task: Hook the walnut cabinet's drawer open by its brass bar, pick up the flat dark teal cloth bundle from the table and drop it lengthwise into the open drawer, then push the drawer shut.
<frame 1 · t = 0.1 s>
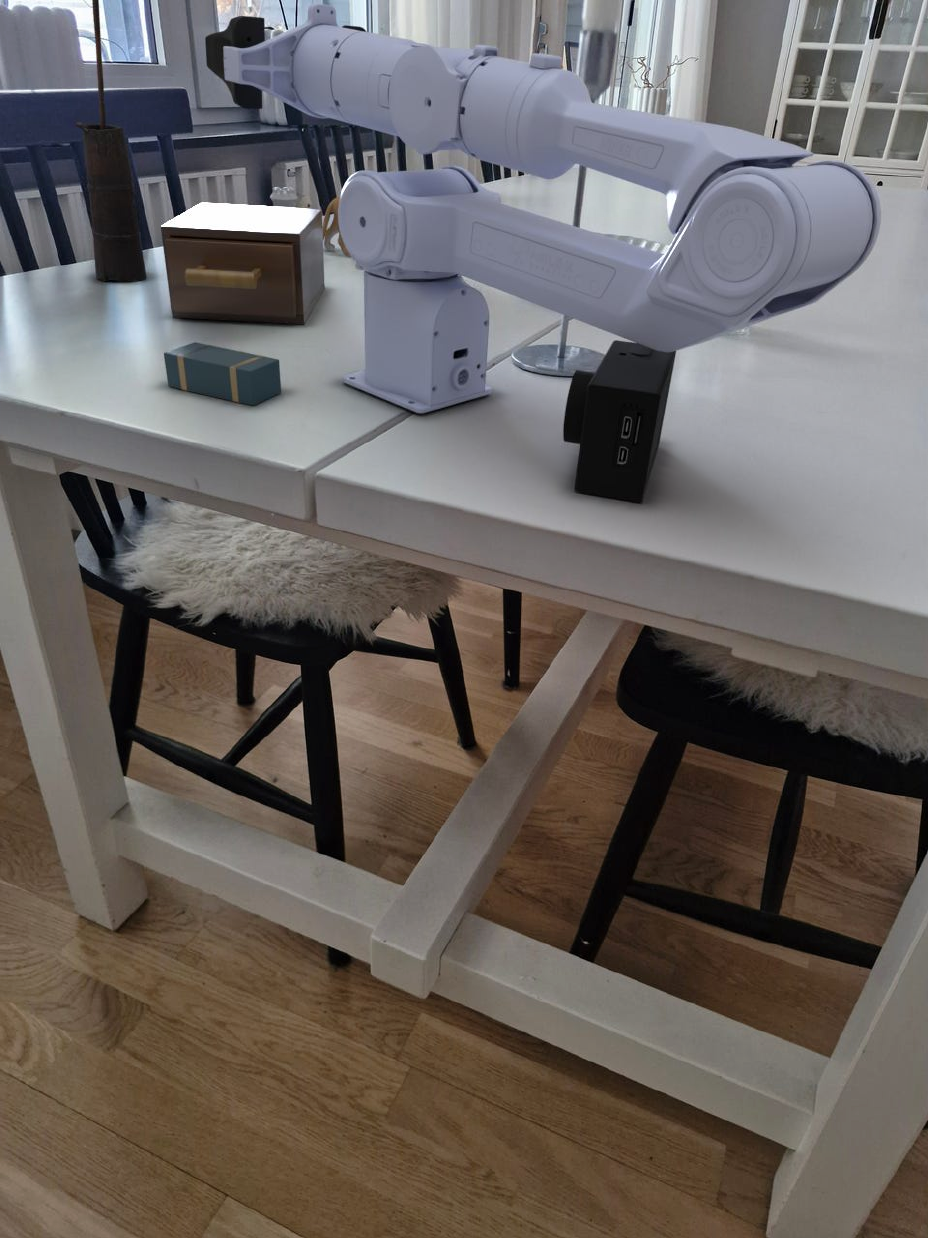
hand: (252, 54, 68), 22 cm above the table, tool horizontal, fingers open, 7 cm apart
butter churn: (115, 281, 95), on the table
digital camera: (609, 468, 58), on the table
cabinet: (253, 302, 89), on the table
lion figurine: (372, 254, 114), on the table
drawer: (242, 268, 84), point 4 cm above the table, slide at 0.0 cm, touching cabinet
rook chess piece: (287, 261, 107), on the table
bundle: (224, 389, 67), on the table
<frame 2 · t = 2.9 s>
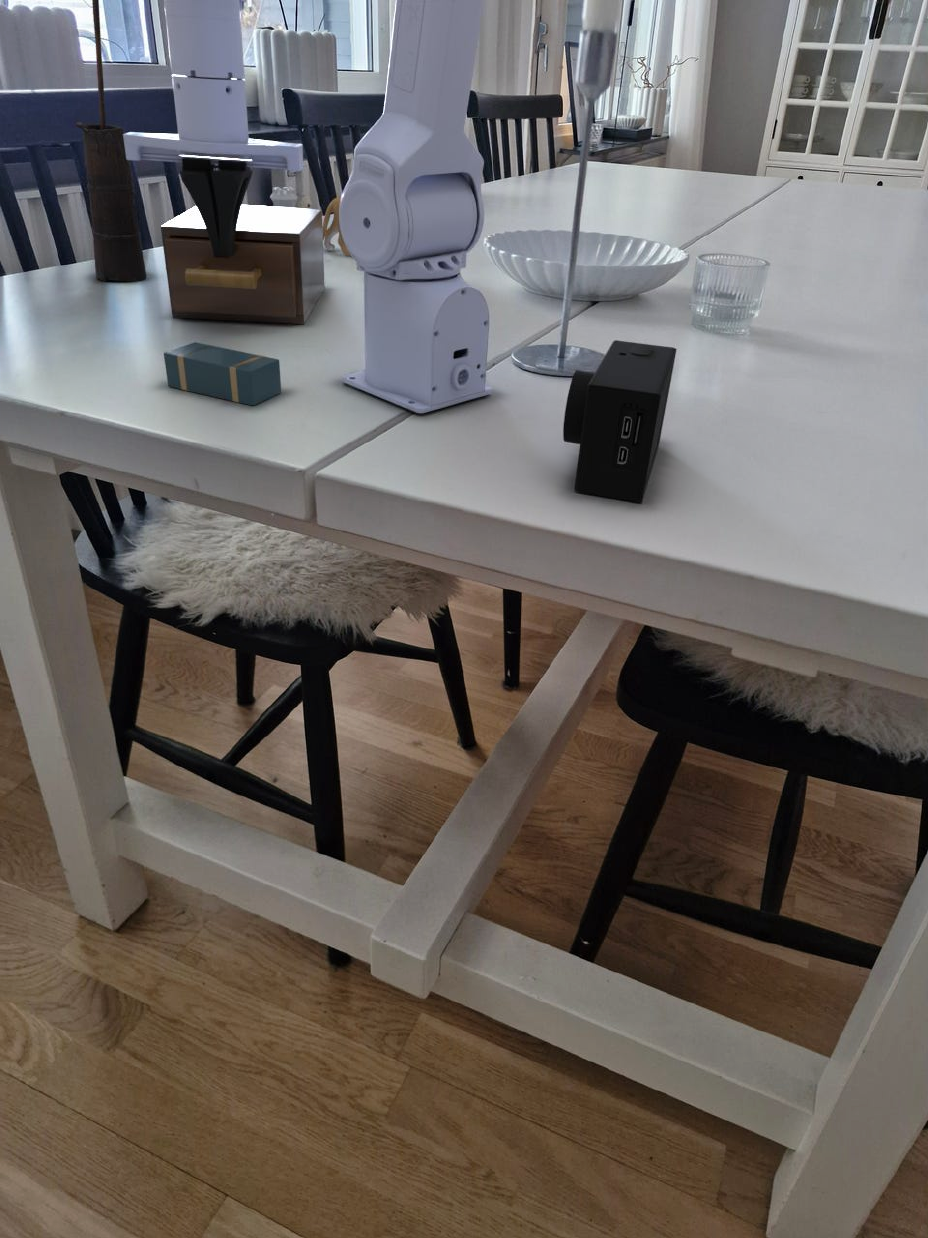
hand: (224, 255, 78), 6 cm above the table, tool pointing down, fingers closed, pressing on drawer
drawer: (242, 268, 84), point 4 cm above the table, slide at 0.0 cm, touching cabinet, gripper
everything else where it was.
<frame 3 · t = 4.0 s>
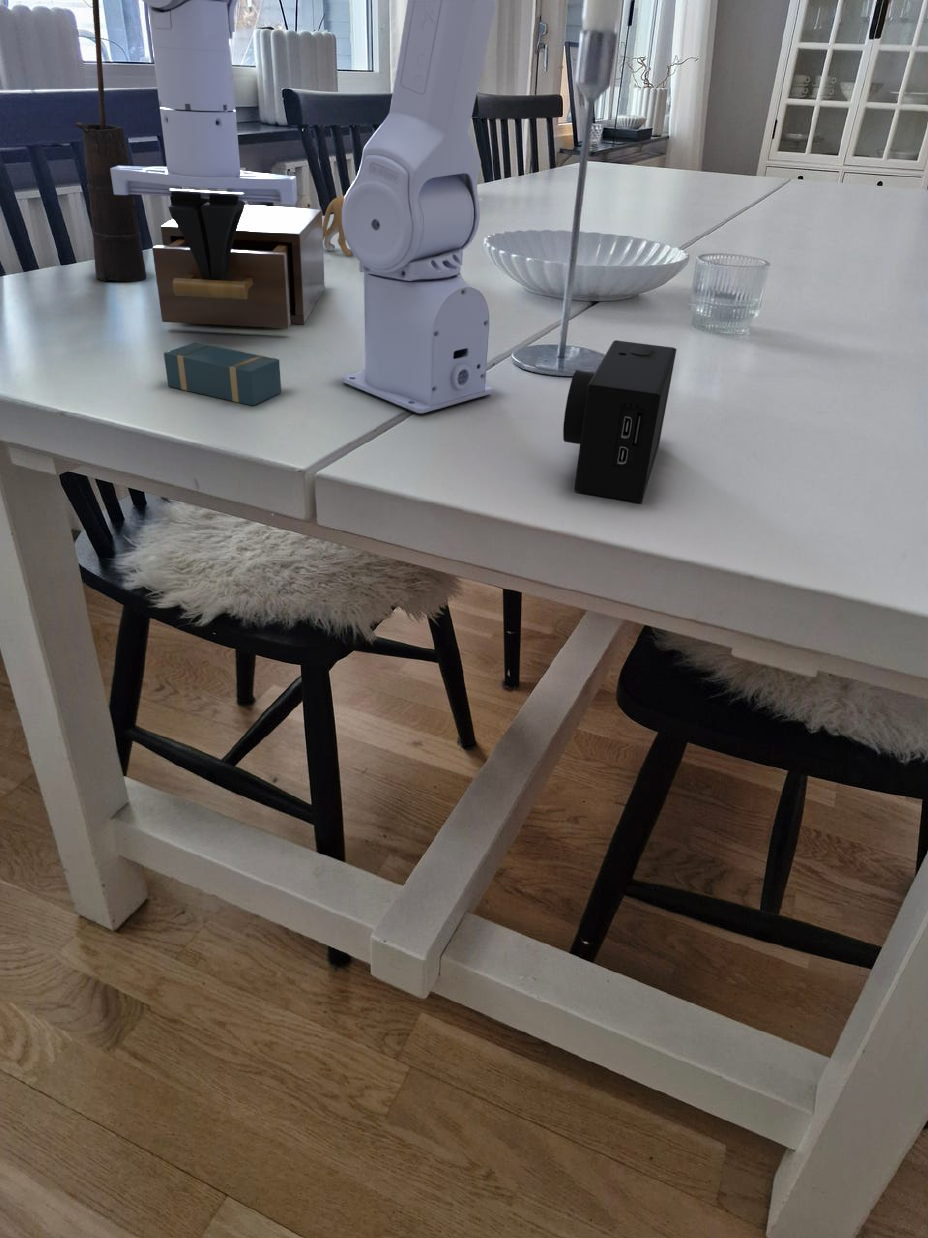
hand: (216, 290, 75), 4 cm above the table, tool pointing down, fingers closed, pressing on drawer
drawer: (233, 277, 80), point 4 cm above the table, slide at 3.8 cm, touching gripper
everything else where it was.
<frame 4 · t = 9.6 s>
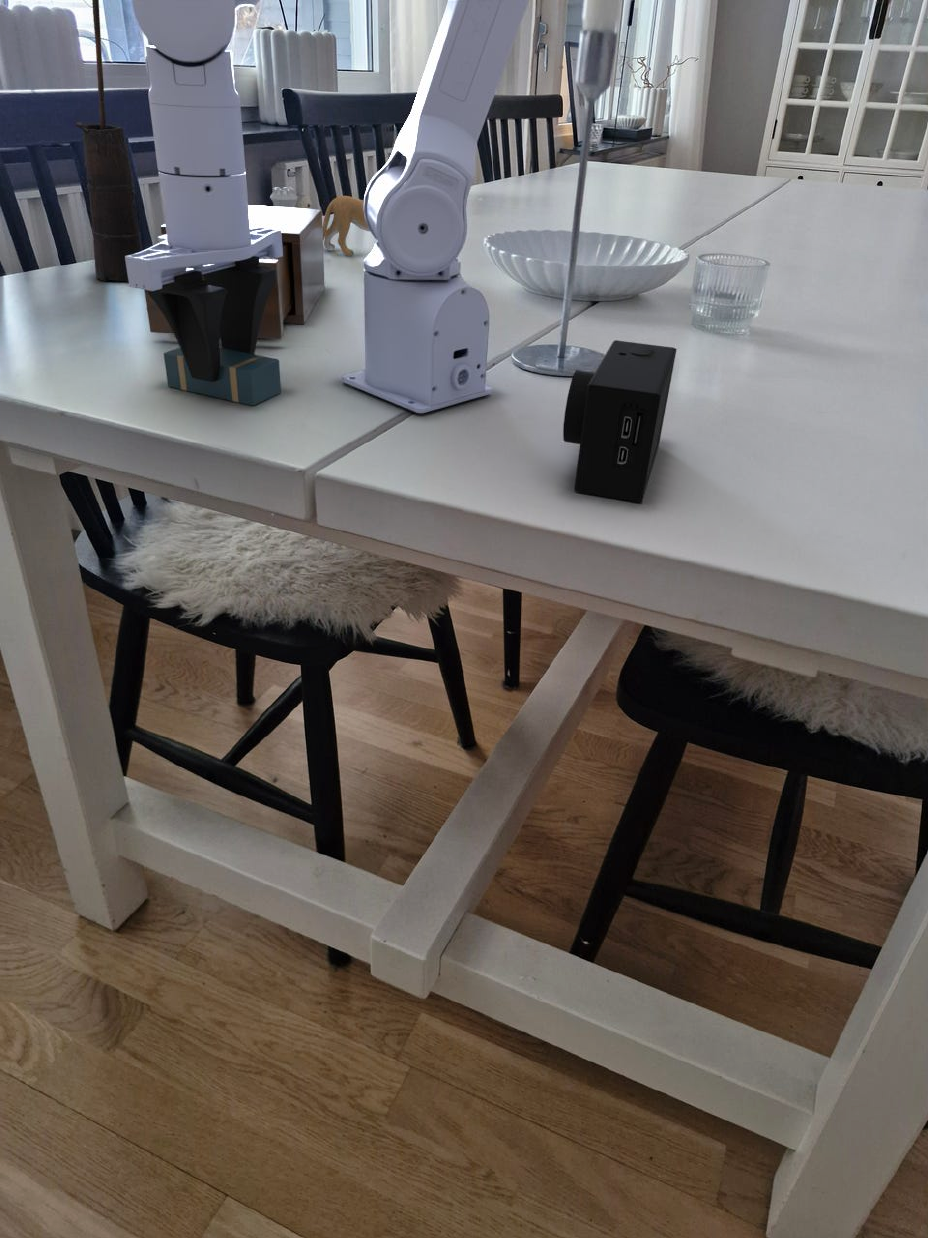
hand: (223, 371, 66), 1 cm above the table, tool pointing down, fingers closed on bundle, 3 cm apart
drawer: (224, 286, 77), point 4 cm above the table, slide at 7.4 cm
bundle: (224, 389, 67), on the table, touching gripper
everything else where it was.
when the fingers open (6 cm above the table, at t = 14.3 s): bundle drops 3 cm, resting on drawer.
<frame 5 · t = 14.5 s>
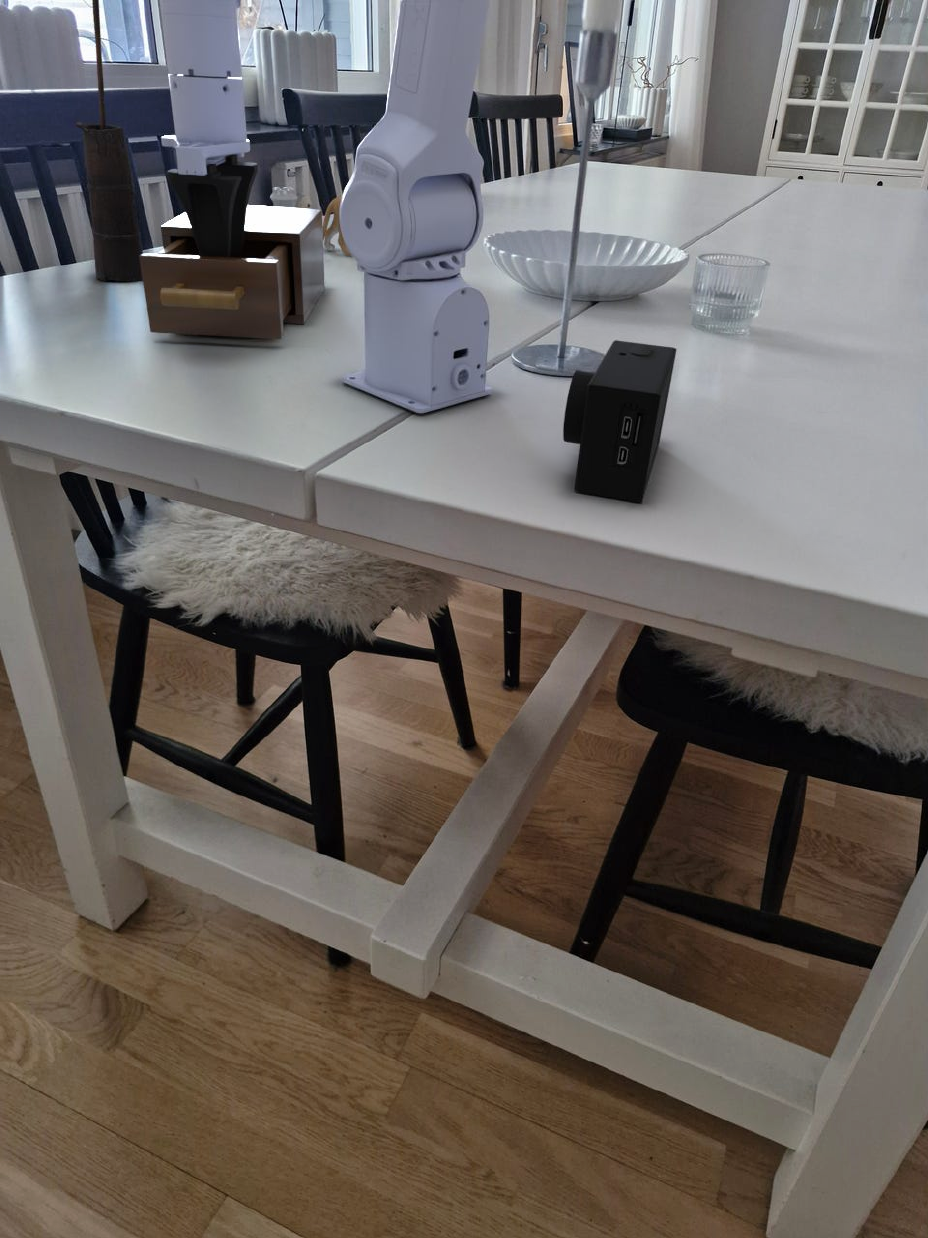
hand: (223, 257, 77), 6 cm above the table, tool pointing down, fingers open, 5 cm apart
drawer: (224, 286, 77), point 4 cm above the table, slide at 7.4 cm, touching bundle
bundle: (227, 308, 79), point 2 cm above the table, touching drawer
everything else where it was.
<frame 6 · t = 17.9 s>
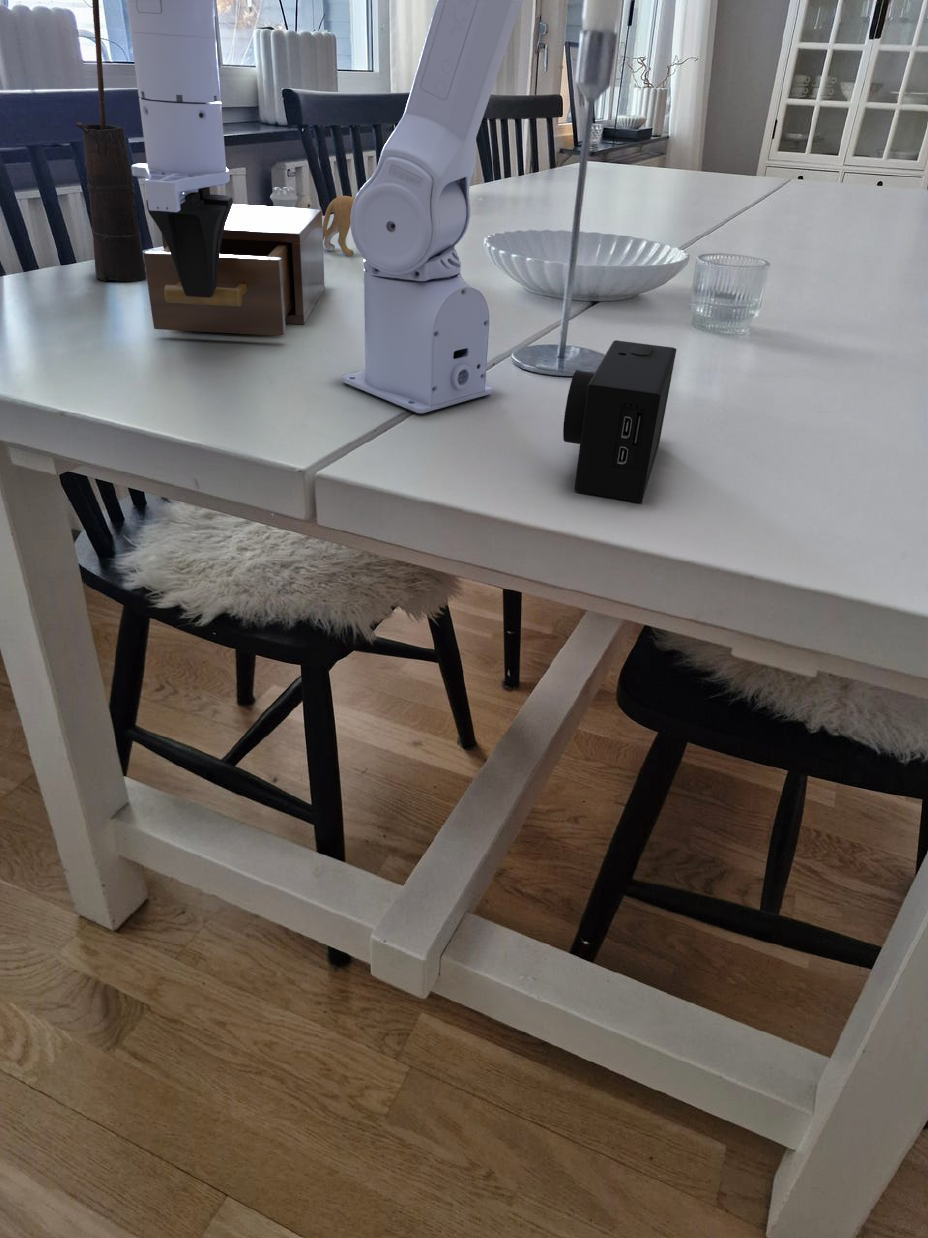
hand: (200, 294, 70), 5 cm above the table, tool pointing down, fingers closed
drawer: (227, 283, 78), point 4 cm above the table, slide at 6.3 cm, touching bundle, gripper
bundle: (230, 305, 80), point 2 cm above the table, touching drawer
everything else where it was.
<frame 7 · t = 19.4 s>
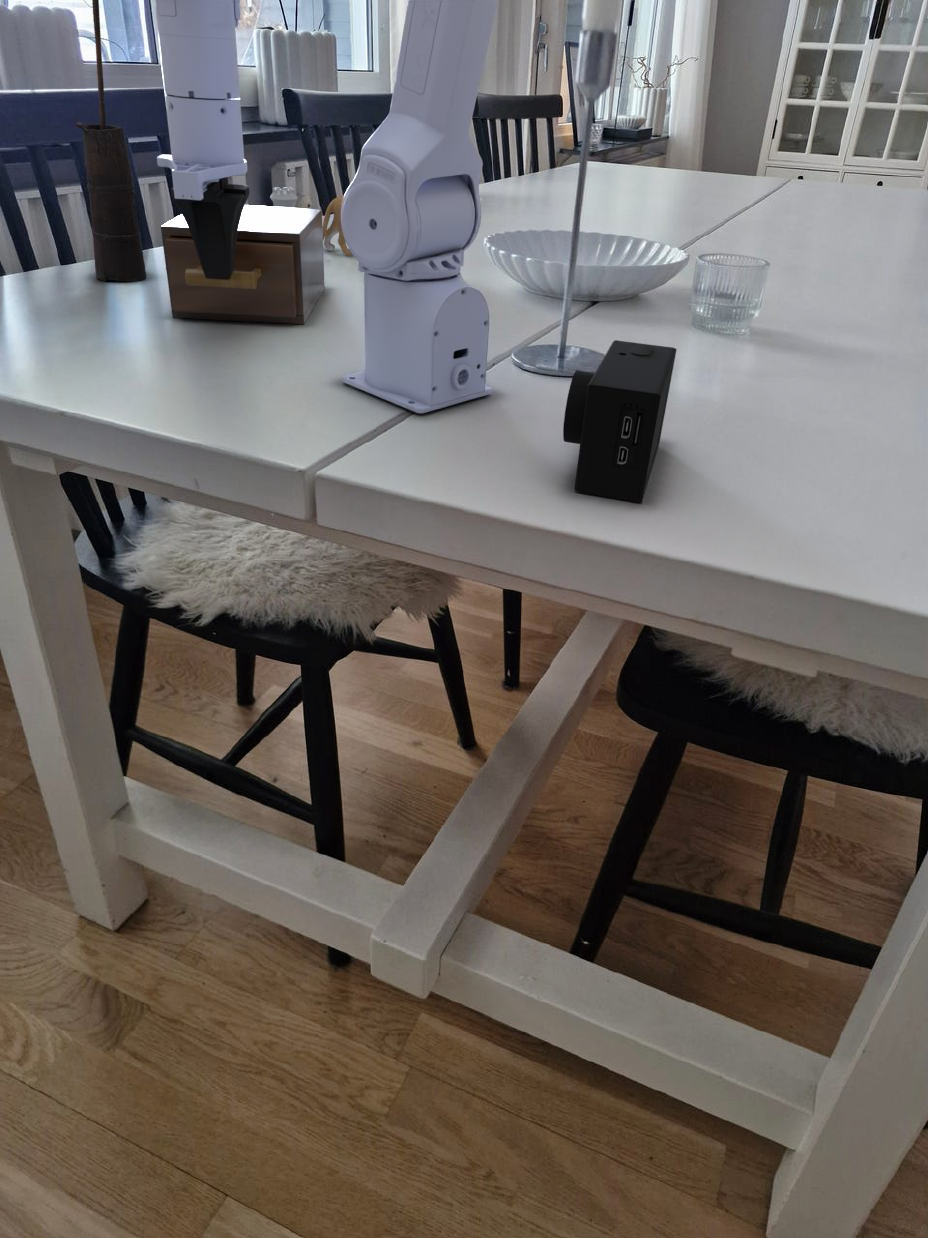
hand: (218, 277, 76), 5 cm above the table, tool pointing down, fingers closed, pressing on drawer
drawer: (242, 268, 84), point 4 cm above the table, slide at 0.0 cm, touching bundle, cabinet, gripper
bundle: (244, 289, 85), point 2 cm above the table, touching drawer
everything else where it was.
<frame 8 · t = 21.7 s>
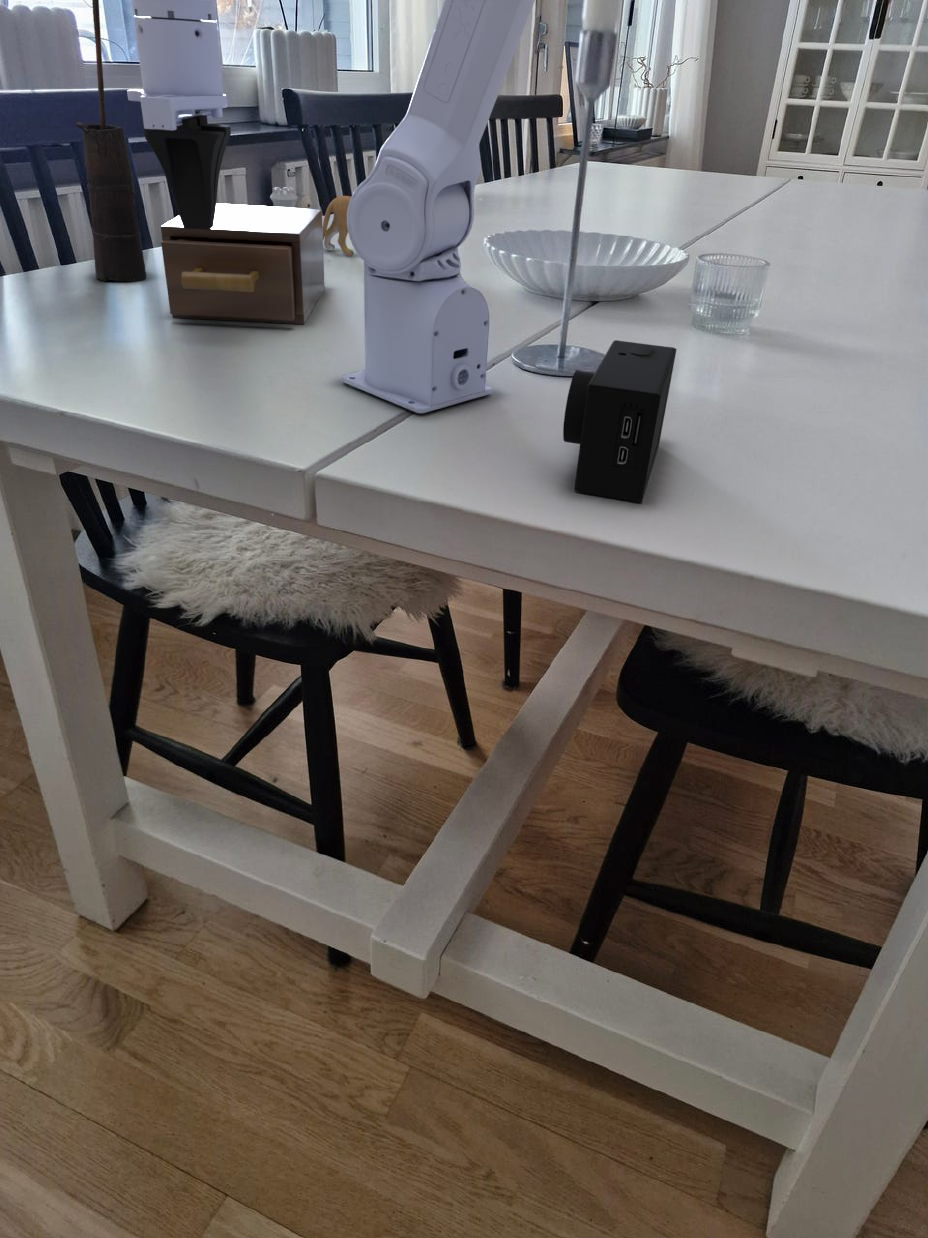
hand: (198, 227, 69), 10 cm above the table, tool pointing down, fingers closed
drawer: (239, 271, 83), point 4 cm above the table, slide at 1.2 cm, touching bundle
bundle: (242, 292, 84), point 2 cm above the table, touching drawer
everything else where it was.
at the end: drawer pulled out 7.4 cm at the most during the clip, back to 1.2 cm at the end; bundle inside the target area in the drawer (0.8 cm from its centre), point 2.0 cm above the cabinet's base; drawer slide at 1.2 cm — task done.
